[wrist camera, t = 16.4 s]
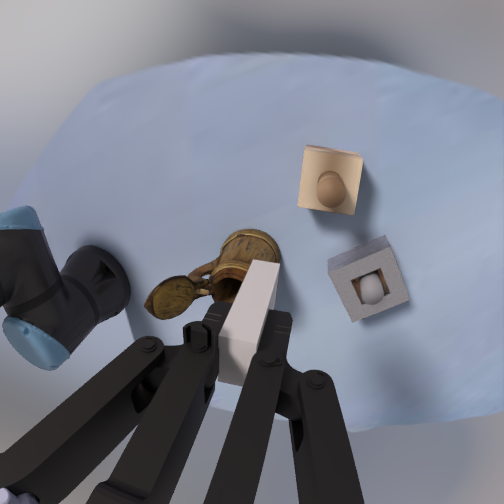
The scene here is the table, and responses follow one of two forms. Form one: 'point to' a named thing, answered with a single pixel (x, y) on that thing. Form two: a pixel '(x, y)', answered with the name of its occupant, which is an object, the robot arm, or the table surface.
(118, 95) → the table surface
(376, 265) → the square metal nut
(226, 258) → the wooden mug
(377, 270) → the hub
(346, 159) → the stand
